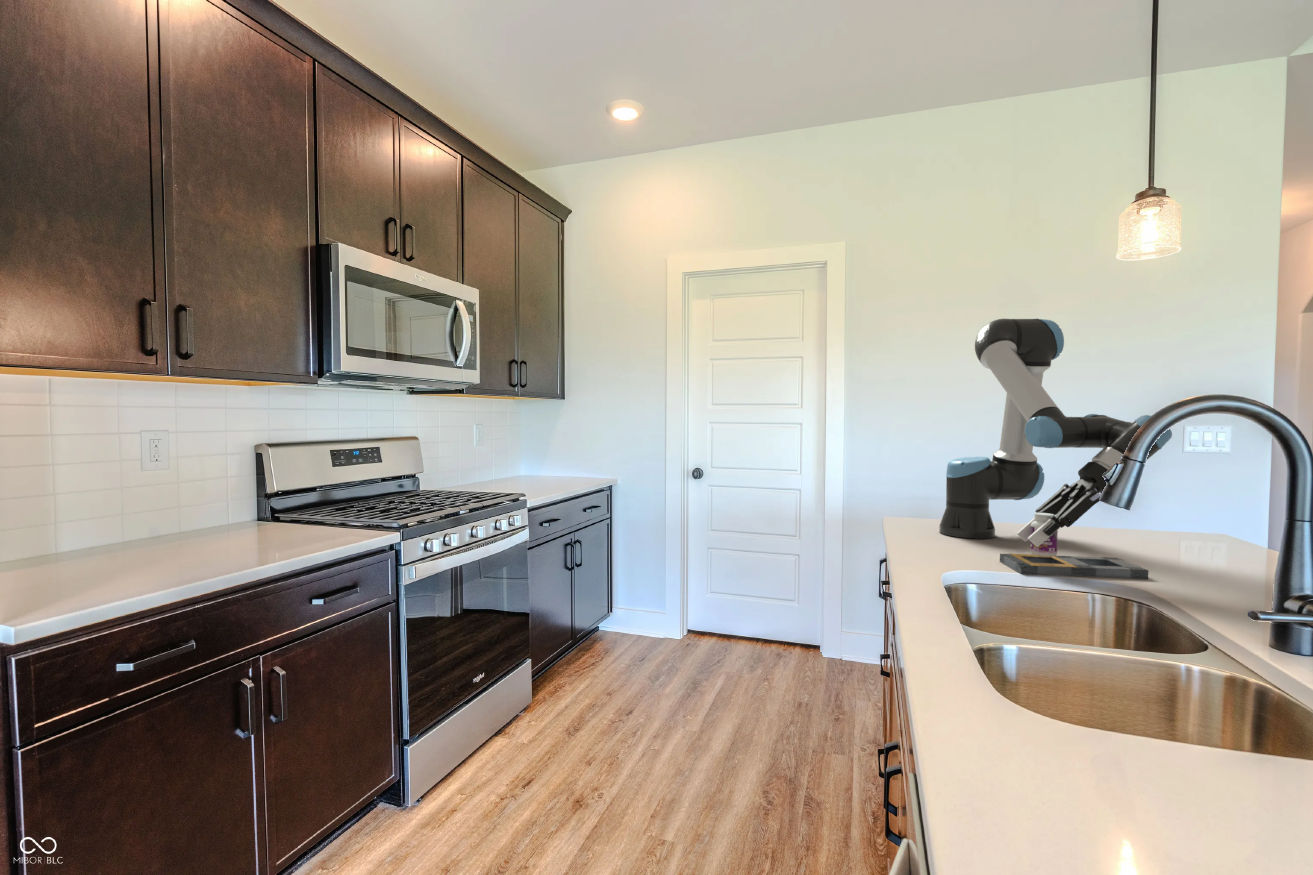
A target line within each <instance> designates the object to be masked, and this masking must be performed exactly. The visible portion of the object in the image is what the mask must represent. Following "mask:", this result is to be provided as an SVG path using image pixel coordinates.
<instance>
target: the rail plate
mask: <svg viewBox="0 0 1313 875" xmlns="http://www.w3.org/2000/svg"><path fill="white" fill-rule="evenodd" d="M999 562H1000V563H1002V564H1003V565H1005V566H1007V567H1008V568H1010V569H1012V570H1014V571H1015V572H1016V573H1019V574H1021V575H1036V576H1037V575H1041V576H1062V577H1063V576H1064V577H1083V578H1084V577H1085V578H1086V577H1087V578H1109V579H1110V578H1112V579H1134V580H1135V579H1136V580H1138V579H1140V580H1148V579H1149V569H1147V568H1144V567H1141V566H1139V565H1137V564H1134V563H1131V562H1129V561H1126V560H1123V559H1121V558H1118V557H1110V556H1109V557H1108V556H1107V557H1106V556H1080V555H1079V556H1078V555H1077V556H1076V555H1056V556H1054V557H1044V556H1038V555H1033V554H1032V553H999Z"/></svg>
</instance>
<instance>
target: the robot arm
mask: <svg viewBox="0 0 1313 875" xmlns="http://www.w3.org/2000/svg"><path fill="white" fill-rule="evenodd" d="M974 341H975V342H974V351H975V355H976V358H977V359H978V360H979V362H980V364H981V366H983V367H984V368H985V369H989V370H990V371H991V372H992V374H993V375H994V376H995V378H996V379H997V381H998V383H999V384H1000V385H1001V386H1002V388H1003V390H1004V391H1005V392H1006V396H1005V397H1006V398H1005V404H1004V413H1003V418H1002V428H1001V434H1000V443H999V448H998V450H996V451H994V452H993V454H992V460H991V459H990V458H989V457H988V456H968V457H967V456H965V457H959V458H954V459H951V460H949V462H948V463H947V465H946V472H945V477H946V492H945V493H946V494H945V496H946V497H945V498H946V499H945V500H946V501H945V503H946V504H945V510H944V511H943V515H942V517H941V520H940V523H939V526H938V528H939V534H942V535H946V536H951V537H955V538H964V539H977V540H978V539H979V540H980V539H991V538H994V537H996V527H995V525H994V521H993V519H992V515H991V512H990V500H991V501H994V500H1001V501H1002V500H1007V501H1008V500H1010V501H1011V500H1013V501H1021V500H1028V499H1029V500H1030V499H1032V498H1034V497H1037V495H1038V494H1039V493H1040V492H1041V490H1042V489H1043V486H1044V483H1045V472H1043V471H1044V468H1043V466H1042V465H1041V464H1040V463H1039V462H1038V457H1037V456H1036V455H1035V454H1034V452H1033V449H1034V447H1035V448H1045V449H1057V448H1059V449H1060V448H1063V449H1065V448H1068V449H1069V448H1073V449H1075V448H1080V449H1082V448H1083V449H1085V448H1086V449H1087V448H1088V449H1089V448H1092V449H1093V448H1094V449H1095V448H1099V449H1101V450H1100V451H1098V453H1096V454H1095V455H1094V456H1093V457H1092V458H1091V461H1087V463H1086V464H1085V465H1083V466H1082V467H1081V468H1080V469H1079V470H1078V472H1077V474H1078V476H1079V480H1077V481H1075V482H1073V483H1072V484H1070V485H1069V484H1068V483H1064V484H1063V485H1062V486H1061V487H1060V489H1059V490H1058V491H1057V492H1055V493H1054V494H1053V495H1052V496H1051V497H1049V498H1048V499H1047V500H1046V501H1045V502H1043V503H1042V504H1041V505H1040V506H1039V507H1038V508H1036V509H1035V512H1034V513H1049V514H1054V515H1055V516H1050V518H1051V519H1052V520H1053V521H1052V520H1051V519H1049V520H1047V521H1046V522H1045V523H1044V524H1043V525H1042V526H1041V527H1039V528H1038V529H1037V530H1036V531H1035V532H1034V533H1033V534H1031V535H1030V533H1031V523H1032V522H1034V521H1036V520H1035V518H1034V517H1033V518H1032V519H1031V520H1030V521H1028V522H1027V523H1026V524H1025V525H1024V526H1023V527H1021V529H1019V530H1018V531H1017V532H1016V533H1015V534H1016V535H1017V537H1019V538H1020V539H1021V540H1022V541H1023V542H1025V543H1026V542H1028V541H1029V542H1030V541H1031V542H1032V543H1033V544H1034V545H1035V546H1036V547H1038V546H1040V545H1041V544H1042V543H1043V542H1044V541H1045V540H1047V539H1048V538H1049V537H1050V536H1051V535H1052V534H1053V533H1055V532H1056V531H1057V530H1058V531H1059V529H1061V528H1064V527H1067V528H1069V527H1071V526H1072V525H1073V524H1075V523H1076V521H1078V520H1079V519H1080V518H1081V517H1082V516H1083V515H1085V513H1087V512H1088V511H1089V510H1091V509H1092V508H1093V506H1094V505H1096V504H1098V503H1099V502H1100V501H1099V498H1100V495H1101V494H1102V491H1103V489H1104V487H1105V486H1106V482H1105V480H1104V478H1103V477H1102V474H1103V473H1104V472H1106V471H1107V470H1108V469H1110V467H1111V466H1113V465H1114V464H1116V463H1118V462H1119V460H1120V458H1121V457H1122V454H1124V452H1125V450H1126V448H1127V447H1128V444H1129V442H1130V441H1131V439H1132V437H1133V436H1134V434H1135V433H1136V432H1137V430H1138V429H1139V428H1140V427H1141V426H1142V424H1143V423H1145V421H1147V420H1148V419H1149V418H1150V417H1152V415H1149V414H1145V415H1141V416H1140V417H1138V418H1136V419H1134V421H1133V422H1131V421H1125V420H1121V419H1117V418H1114V417H1111V416H1108V415H1105V414H1097V413H1089V414H1087V415H1085V416H1066V415H1065V414H1064V412H1063V411H1062V410H1061V409H1060V407H1058V405H1057V404H1056V403H1055V402H1054V400H1053V399H1052V398H1051V396H1050V395H1049V393H1048V392H1047V391H1046V390H1045V388H1044V387H1043V378H1044V373H1045V372H1046V371H1047V370H1049V369H1050V368H1051V366H1052V361H1054V360H1055V359H1058V358H1059V357H1060V354H1061V353H1062V352H1063V351H1064V347H1065V337H1064V333H1063V330H1062V328H1061V327H1060V326H1059V324H1058V323H1057V322H1055V321H1054V320H1051V319H1042V318H999V319H998V318H997V319H995V320H992V321H989V322H988V323H986V325H984V326H983V327H982V328H981V329H980V331H979V332H978V334H977V335H976V337H975V340H974ZM1172 436H1173V432H1172V429H1171V428H1170V429H1169V430H1167V431H1166V432H1165V433H1163V434H1162V435H1161V436H1160V438H1159V439H1157V441H1156V442H1155V444H1154V445H1153V446H1152V448H1151V450H1150V451H1149V455H1148V457H1147V460H1149V459H1150V458H1151V457H1153V456H1154V454H1157V452H1158V451H1159V450H1162V448H1163V447H1164V446H1165V445H1166V444H1167V443H1168V442H1169V441H1170V440H1171V438H1172ZM1147 460H1146V461H1147Z"/></svg>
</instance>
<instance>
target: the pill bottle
mask: <svg viewBox="0 0 1313 875" xmlns="http://www.w3.org/2000/svg"><path fill="white" fill-rule="evenodd" d="M1050 516H1056V515H1054V514H1049V513H1036V512H1034V517H1033V518H1035V520H1036V521H1034V522H1032V523H1031V533H1030V535H1031V534H1033V533H1034V532H1035V531H1036V530H1037V529H1038V528H1039V527H1041V526H1042V525H1043V524H1044V523H1045V522H1046V521H1047V520H1049V519H1051V518H1050ZM1051 520H1052V519H1051ZM1052 521H1053V520H1052ZM1058 532H1059V529H1058V530H1057V531H1056V532H1055V533H1053V534H1052V535H1051V536H1050V537H1049V538H1048V539H1047V540H1045V541H1044V542H1043V543H1042V544H1041V545H1040V546H1038V547H1036V546H1035V545H1034V544H1033V543H1032V542H1031V541H1030V540H1029V542H1030V543H1029V552H1030V554H1033V555H1038V556H1044V557H1054V556H1058V555H1057V554H1058Z"/></svg>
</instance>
